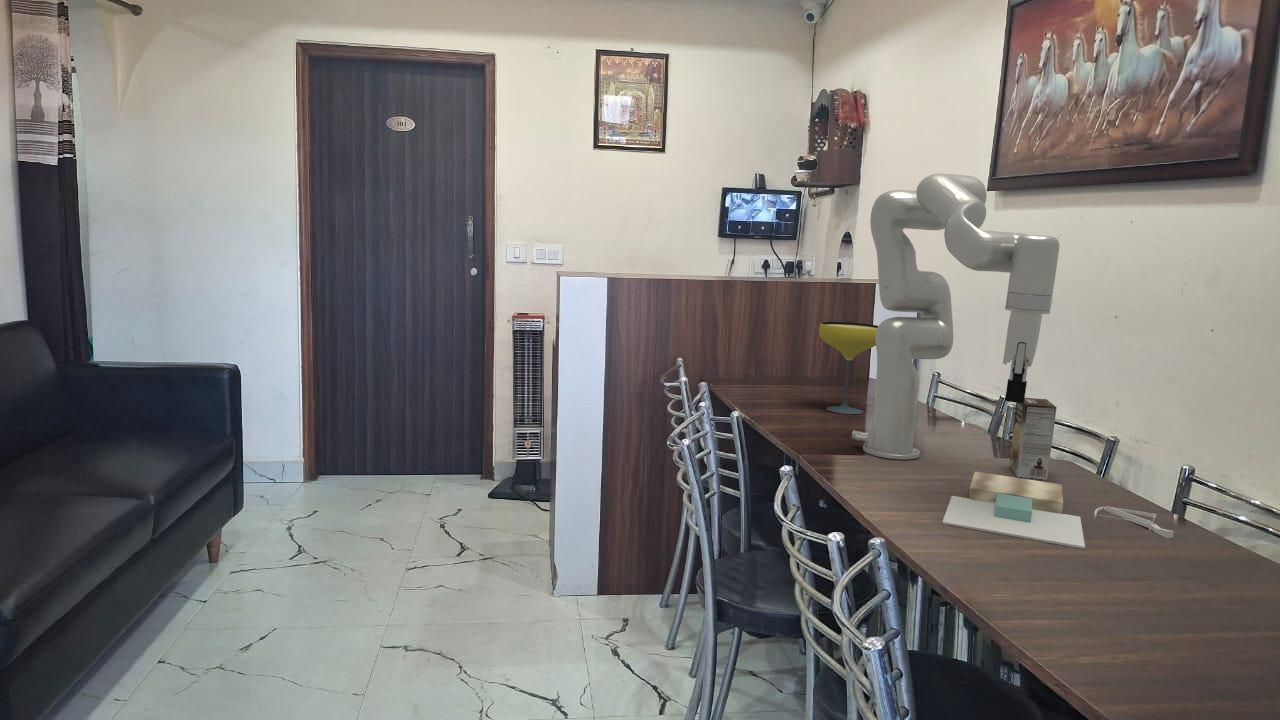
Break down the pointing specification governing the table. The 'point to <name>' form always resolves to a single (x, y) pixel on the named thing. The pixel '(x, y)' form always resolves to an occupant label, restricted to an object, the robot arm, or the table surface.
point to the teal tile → (1013, 507)
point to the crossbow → (1137, 519)
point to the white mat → (1015, 523)
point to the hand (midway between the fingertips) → (1014, 401)
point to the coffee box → (1032, 438)
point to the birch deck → (1017, 490)
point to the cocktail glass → (848, 348)
